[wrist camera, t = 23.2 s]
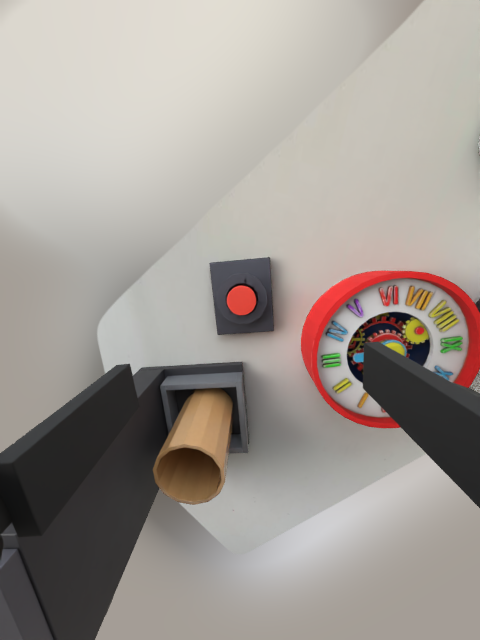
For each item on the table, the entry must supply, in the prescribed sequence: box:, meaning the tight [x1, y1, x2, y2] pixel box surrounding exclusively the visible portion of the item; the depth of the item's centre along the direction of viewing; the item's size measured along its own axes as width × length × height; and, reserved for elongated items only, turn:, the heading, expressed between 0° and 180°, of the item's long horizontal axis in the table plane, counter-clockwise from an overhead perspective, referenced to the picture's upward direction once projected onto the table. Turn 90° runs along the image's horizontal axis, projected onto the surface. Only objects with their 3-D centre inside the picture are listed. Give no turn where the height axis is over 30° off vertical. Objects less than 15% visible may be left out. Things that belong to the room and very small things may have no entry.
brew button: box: [227, 285, 256, 315], centre depth 28 cm, size 4×4×2 cm
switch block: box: [210, 257, 274, 335], centre depth 30 cm, size 10×8×4 cm
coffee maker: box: [0, 362, 249, 640], centre depth 25 cm, size 14×16×24 cm
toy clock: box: [301, 271, 480, 428], centre depth 30 cm, size 20×6×20 cm
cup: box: [153, 388, 234, 505], centre depth 29 cm, size 8×8×12 cm
